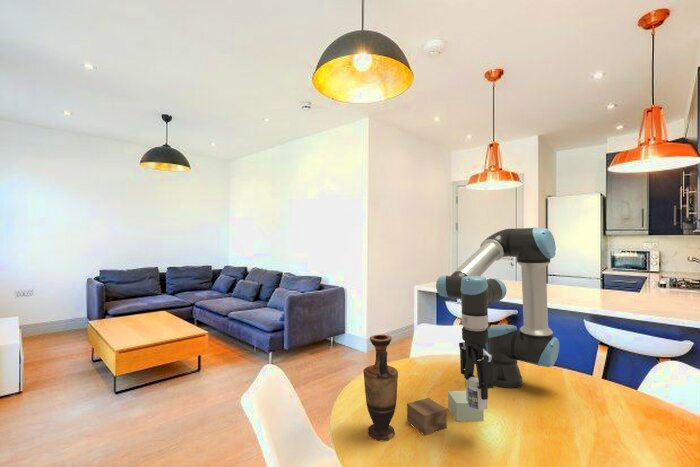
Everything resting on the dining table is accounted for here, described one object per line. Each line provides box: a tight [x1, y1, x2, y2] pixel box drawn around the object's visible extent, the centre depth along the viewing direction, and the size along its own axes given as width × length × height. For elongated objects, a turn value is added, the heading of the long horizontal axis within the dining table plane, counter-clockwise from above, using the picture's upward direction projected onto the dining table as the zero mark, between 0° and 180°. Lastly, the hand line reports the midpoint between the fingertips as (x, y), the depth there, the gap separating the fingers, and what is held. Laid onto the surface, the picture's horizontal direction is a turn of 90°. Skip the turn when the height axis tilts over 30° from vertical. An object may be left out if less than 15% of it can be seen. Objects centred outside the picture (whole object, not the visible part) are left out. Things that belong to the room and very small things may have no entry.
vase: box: [363, 334, 399, 441], centre depth 107 cm, size 11×11×30 cm
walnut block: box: [406, 397, 448, 436], centre depth 112 cm, size 9×9×6 cm
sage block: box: [447, 390, 484, 422], centre depth 118 cm, size 9×9×6 cm
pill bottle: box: [468, 376, 481, 411], centre depth 103 cm, size 5×5×8 cm
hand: (476, 404), depth 103 cm, fingers closed on pill bottle, 5 cm apart
